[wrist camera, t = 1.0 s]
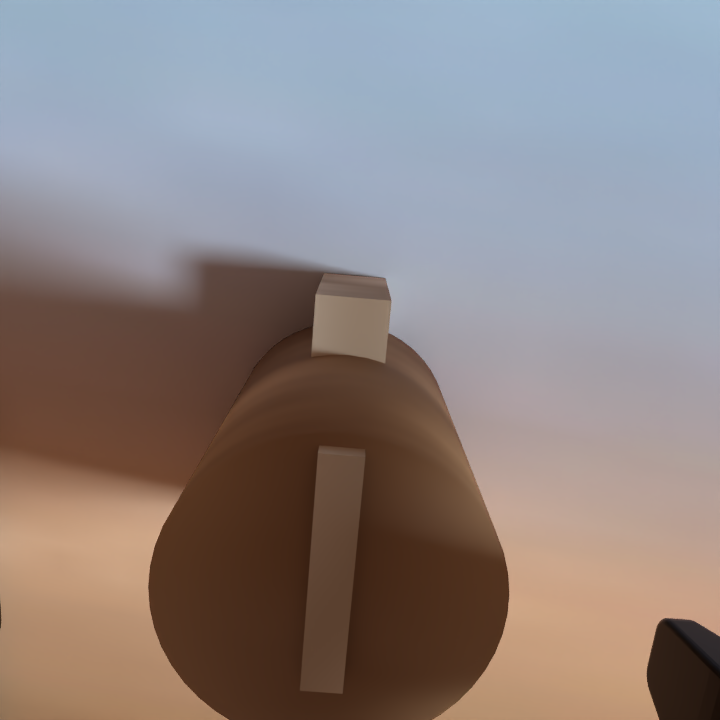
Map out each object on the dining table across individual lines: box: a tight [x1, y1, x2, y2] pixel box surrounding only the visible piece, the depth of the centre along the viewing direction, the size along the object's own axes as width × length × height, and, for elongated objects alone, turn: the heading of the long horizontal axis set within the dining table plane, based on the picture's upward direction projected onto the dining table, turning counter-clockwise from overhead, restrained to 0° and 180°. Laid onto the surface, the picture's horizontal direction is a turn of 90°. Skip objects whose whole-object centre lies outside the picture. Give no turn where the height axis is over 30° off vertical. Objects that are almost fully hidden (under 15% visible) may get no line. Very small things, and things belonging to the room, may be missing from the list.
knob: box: [148, 273, 509, 720], centre depth 12 cm, size 5×6×7 cm
